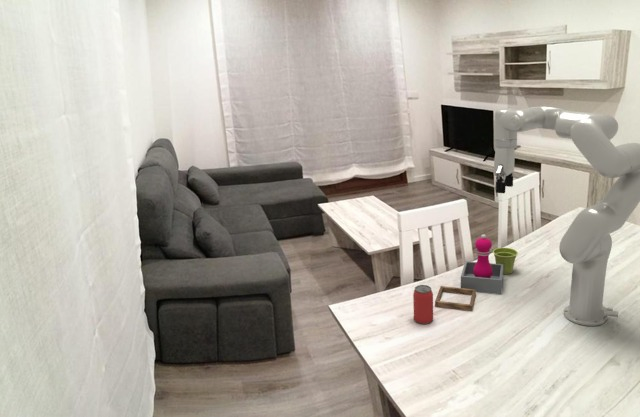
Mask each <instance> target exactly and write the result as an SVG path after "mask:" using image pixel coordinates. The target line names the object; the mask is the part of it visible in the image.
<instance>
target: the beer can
mask: <svg viewBox="0 0 640 417" xmlns="http://www.w3.org/2000/svg"><path fill="white" fill-rule="evenodd" d="M412 294H413V295H412V298H413V299H412V300H413V301H412V302H413V320H414V321H415V322H416V323H418V324H422V325H423V324H424V325H425V324H426V325H427V324H430V323H431V322H433V320H434V293H433V290H432V287H431V286H429V285H427V284H419V285H417V286H415V287H414V291H413V293H412Z"/></svg>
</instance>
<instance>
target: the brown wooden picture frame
mask: <svg viewBox="0 0 640 417" xmlns="http://www.w3.org/2000/svg"><path fill="white" fill-rule="evenodd" d="M437 292H438V293H437V295H436V298H435V300H434V307H435V308H442V309H452V310H461V311H467V312H469V311H470V312H473V310H474V304H475V300H476V295H477V292H476V290H475V289H465V288H461V287H453V286H445V285H440V287H439V290H438V291H437ZM443 293H450V294H456V295H457V294H458V295H466V296H467V295H468V296H471V297H470V301H469V303H459V302H451V301H443V300H441V298H442V295H443Z"/></svg>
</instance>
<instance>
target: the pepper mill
mask: <svg viewBox="0 0 640 417" xmlns="http://www.w3.org/2000/svg"><path fill="white" fill-rule="evenodd" d="M474 245H475V249H476V255H477V260H476V262H477V263H476V264H475V266H474V269H473V274H474V275H475V277H482V278H490V277H491V276H492V274H493V271H492V267H491V265H490V260H489V259H490V258H489V256H490V255H491V250H490V249H492V246H493V244H492V241H491V239H489V238H487V235H486V234H481V236H480V237H479V238H478V239H476V240H475V242H474Z"/></svg>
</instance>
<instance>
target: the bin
mask: <svg viewBox="0 0 640 417" xmlns="http://www.w3.org/2000/svg"><path fill="white" fill-rule="evenodd" d="M476 263H477V261H468V260H465V261H464V264H463V267H462V271H461V274H460V288H465V289H475V290H476V293H484V294H485V293H486V294H493V295H502V290H503V281H504V280H503V279H504V274H503V264H496V263H493V262H491V263H490V262H489V263H490V265H491V267H492V271H493V274H492V276H491V277H490V278H482V277H475V275H474V274H473V269H474V266H475V264H476Z"/></svg>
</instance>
